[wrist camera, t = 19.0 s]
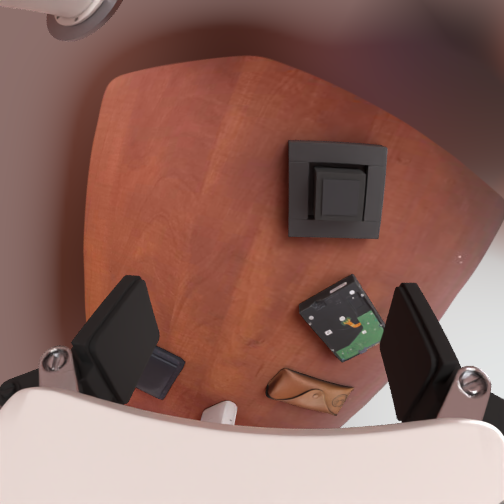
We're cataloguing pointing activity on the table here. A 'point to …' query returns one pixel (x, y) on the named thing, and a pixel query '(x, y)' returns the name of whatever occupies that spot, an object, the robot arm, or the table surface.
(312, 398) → the sunglasses case
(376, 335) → the disk drive
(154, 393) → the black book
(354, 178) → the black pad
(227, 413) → the photo printer
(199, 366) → the table surface
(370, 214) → the docking pad
